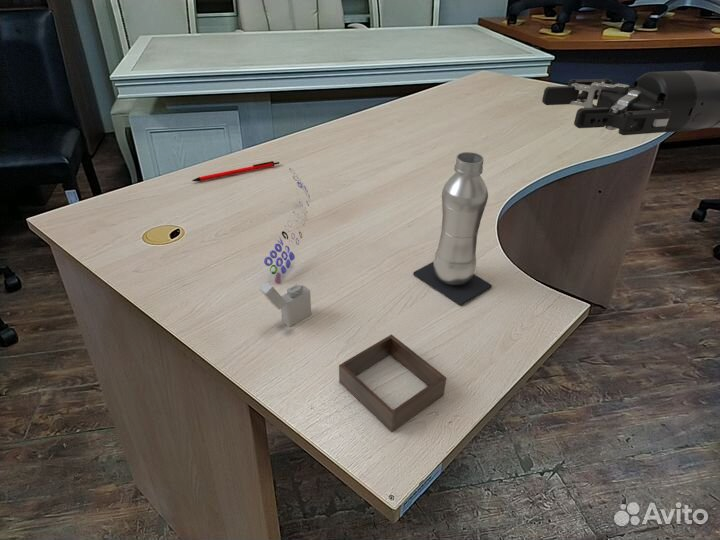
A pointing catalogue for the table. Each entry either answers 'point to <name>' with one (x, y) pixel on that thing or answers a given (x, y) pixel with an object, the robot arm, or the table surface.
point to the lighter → (290, 302)
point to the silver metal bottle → (461, 220)
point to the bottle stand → (411, 362)
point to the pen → (237, 171)
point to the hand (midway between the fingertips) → (559, 106)
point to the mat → (453, 292)
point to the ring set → (291, 255)
